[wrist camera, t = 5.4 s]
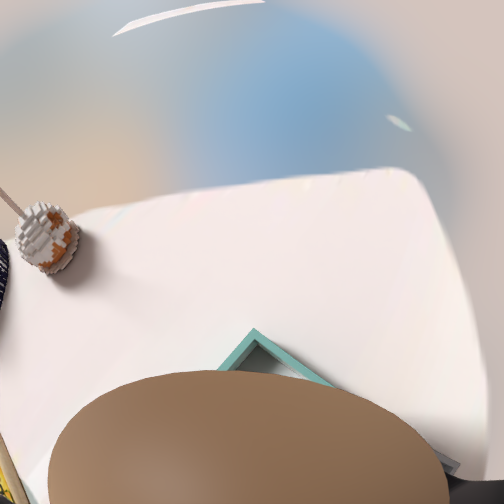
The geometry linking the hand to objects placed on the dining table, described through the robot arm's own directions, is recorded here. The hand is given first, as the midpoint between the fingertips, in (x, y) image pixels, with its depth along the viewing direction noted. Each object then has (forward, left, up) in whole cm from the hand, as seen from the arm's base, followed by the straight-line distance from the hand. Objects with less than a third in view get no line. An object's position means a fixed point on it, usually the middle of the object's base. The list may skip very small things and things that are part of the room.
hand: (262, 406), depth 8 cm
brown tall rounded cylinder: (-1, -1, -8) cm, 8 cm away
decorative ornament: (-6, +30, -14) cm, 34 cm away
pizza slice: (-45, +17, -14) cm, 50 cm away
